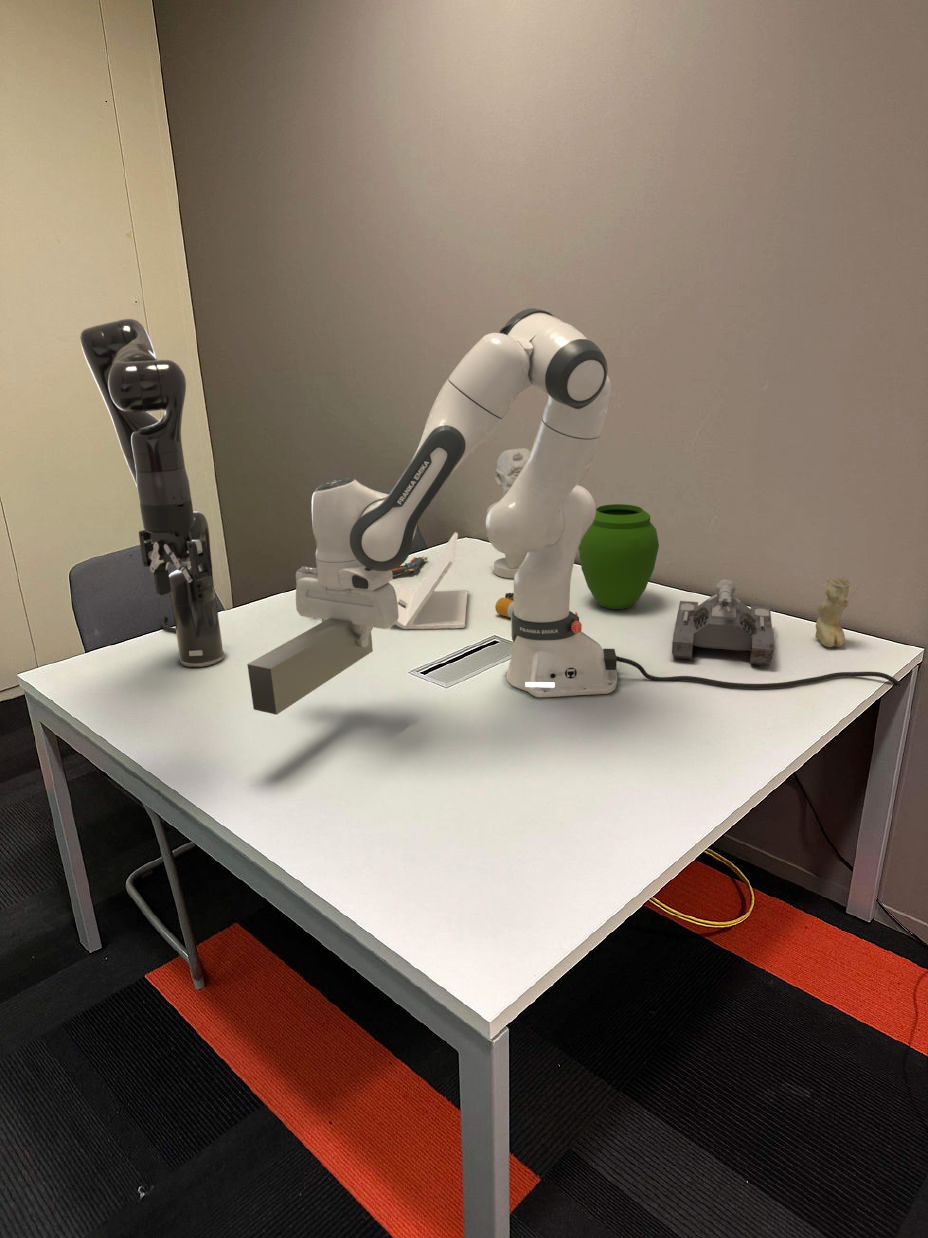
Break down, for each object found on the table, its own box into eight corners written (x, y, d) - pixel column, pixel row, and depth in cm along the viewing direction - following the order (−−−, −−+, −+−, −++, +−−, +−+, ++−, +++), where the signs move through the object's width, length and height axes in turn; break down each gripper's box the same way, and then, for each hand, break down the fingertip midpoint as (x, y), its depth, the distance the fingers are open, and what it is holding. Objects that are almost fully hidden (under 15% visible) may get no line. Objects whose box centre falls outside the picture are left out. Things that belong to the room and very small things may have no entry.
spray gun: (510, 599, 222) (565, 608, 216) (485, 617, 207) (543, 627, 202) (511, 584, 221) (567, 592, 215) (485, 600, 206) (544, 610, 200)
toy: (678, 620, 203) (682, 559, 197) (767, 627, 197) (774, 565, 192) (670, 662, 180) (675, 595, 175) (771, 671, 174) (778, 602, 169)
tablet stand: (467, 593, 225) (465, 531, 219) (465, 628, 202) (462, 559, 196) (399, 594, 226) (395, 532, 220) (388, 629, 203) (384, 560, 197)
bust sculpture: (503, 593, 225) (502, 460, 212) (483, 567, 247) (480, 445, 234) (562, 587, 228) (563, 456, 215) (536, 562, 250) (536, 441, 237)
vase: (599, 587, 227) (601, 497, 218) (668, 600, 216) (673, 505, 208) (562, 608, 212) (564, 513, 204) (634, 623, 202) (639, 523, 193)
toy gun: (378, 571, 238) (412, 567, 236) (395, 556, 256) (428, 553, 254) (379, 580, 239) (414, 577, 237) (397, 565, 257) (429, 562, 255)
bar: (351, 647, 161) (348, 607, 158) (372, 651, 159) (369, 610, 156) (253, 709, 138) (247, 664, 135) (276, 715, 135) (270, 668, 133)
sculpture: (821, 649, 184) (830, 583, 179) (808, 637, 191) (816, 573, 185) (848, 649, 184) (858, 582, 179) (834, 636, 191) (843, 572, 185)
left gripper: (116, 497, 131) (133, 597, 136) (172, 508, 123) (188, 614, 128) (158, 488, 136) (173, 584, 142) (215, 498, 128) (228, 600, 134)
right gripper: (284, 570, 152) (292, 641, 157) (381, 582, 143) (386, 658, 148) (305, 560, 158) (313, 630, 163) (400, 572, 149) (405, 645, 153)
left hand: (180, 598), depth 135 cm, fingers open, 8 cm apart
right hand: (349, 643), depth 155 cm, fingers closed on bar, 5 cm apart
